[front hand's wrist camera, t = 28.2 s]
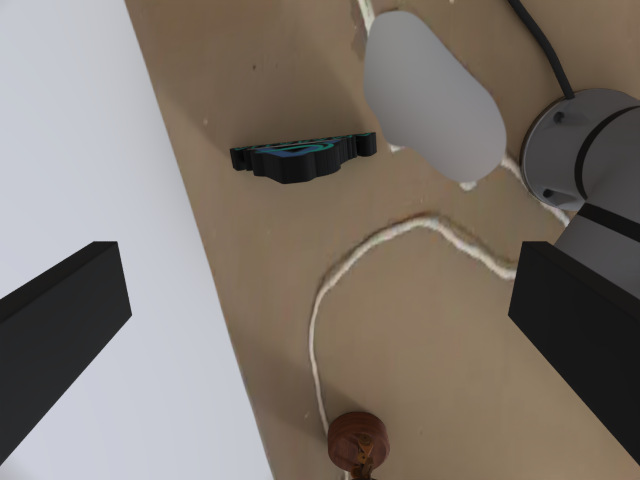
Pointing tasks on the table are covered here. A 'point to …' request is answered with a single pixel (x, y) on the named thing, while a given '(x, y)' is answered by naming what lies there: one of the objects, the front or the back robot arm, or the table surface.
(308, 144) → the decorative sign
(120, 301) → the front robot arm
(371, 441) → the brown wooden figurine
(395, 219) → the table surface
